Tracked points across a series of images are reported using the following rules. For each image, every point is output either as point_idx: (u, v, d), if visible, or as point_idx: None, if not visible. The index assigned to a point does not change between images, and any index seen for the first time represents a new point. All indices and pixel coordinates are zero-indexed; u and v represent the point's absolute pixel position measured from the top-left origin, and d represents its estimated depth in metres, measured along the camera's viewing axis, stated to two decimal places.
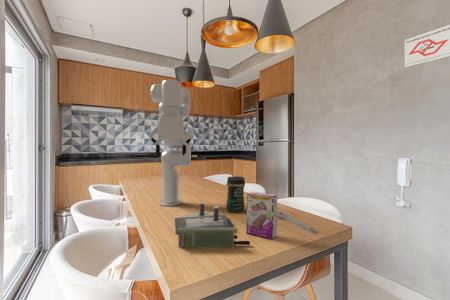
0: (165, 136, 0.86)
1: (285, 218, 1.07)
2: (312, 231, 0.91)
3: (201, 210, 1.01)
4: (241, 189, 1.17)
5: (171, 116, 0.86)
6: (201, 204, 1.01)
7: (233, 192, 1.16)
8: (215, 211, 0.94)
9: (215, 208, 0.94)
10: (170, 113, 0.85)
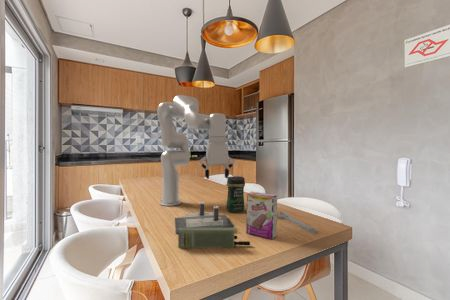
0: (213, 161, 1.00)
1: (286, 218, 1.07)
2: (313, 231, 0.91)
3: (201, 210, 1.01)
4: (241, 189, 1.17)
5: (218, 144, 1.00)
6: (201, 204, 1.01)
7: (233, 192, 1.16)
8: (215, 211, 0.94)
9: (215, 208, 0.94)
10: (218, 142, 0.99)
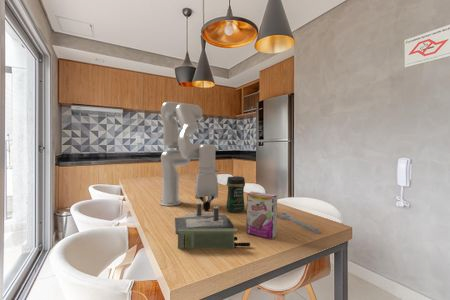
0: (202, 193, 1.00)
1: (288, 218, 1.06)
2: (316, 231, 0.91)
3: (198, 210, 1.01)
4: (241, 189, 1.17)
5: (207, 176, 1.00)
6: (198, 204, 1.01)
7: (233, 192, 1.16)
8: (215, 211, 0.94)
9: (215, 208, 0.94)
10: (207, 174, 0.99)
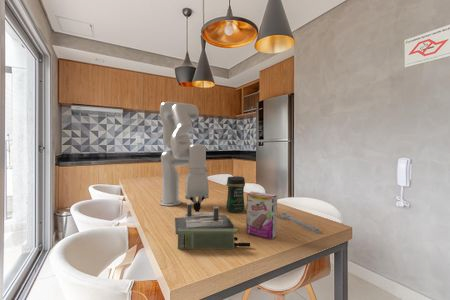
0: (192, 193, 0.99)
1: (288, 218, 1.06)
2: (317, 231, 0.91)
3: (188, 211, 1.00)
4: (241, 189, 1.17)
5: (198, 176, 0.99)
6: (188, 205, 1.00)
7: (233, 192, 1.16)
8: (215, 211, 0.94)
9: (215, 208, 0.94)
10: (197, 174, 0.98)
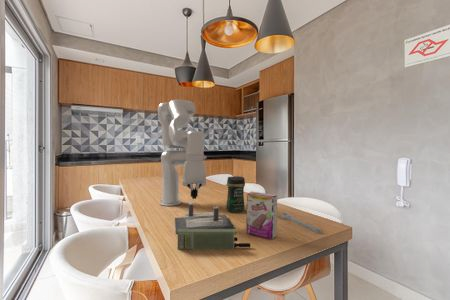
0: (190, 180, 0.99)
1: (289, 219, 1.06)
2: (318, 232, 0.91)
3: (190, 211, 1.00)
4: (241, 189, 1.17)
5: (195, 163, 0.99)
6: (190, 205, 1.00)
7: (233, 192, 1.16)
8: (215, 211, 0.94)
9: (215, 208, 0.94)
10: (195, 161, 0.97)
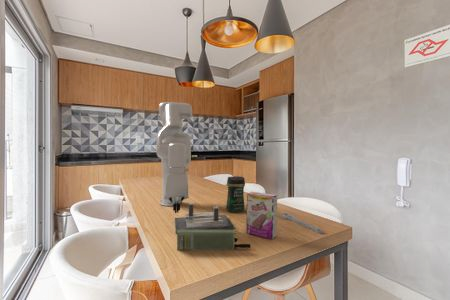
0: (171, 193, 0.96)
1: (290, 219, 1.06)
2: (320, 232, 0.90)
3: (190, 211, 1.00)
4: (241, 189, 1.17)
5: (176, 176, 0.96)
6: (190, 205, 1.00)
7: (233, 192, 1.16)
8: (215, 211, 0.94)
9: (215, 208, 0.94)
10: (176, 174, 0.95)
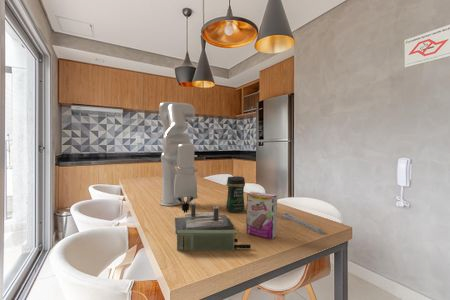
0: (180, 193, 0.97)
1: (291, 219, 1.06)
2: (320, 232, 0.90)
3: (192, 211, 1.00)
4: (241, 189, 1.17)
5: (186, 176, 0.97)
6: (192, 204, 1.00)
7: (233, 192, 1.16)
8: (215, 211, 0.94)
9: (215, 208, 0.94)
10: (185, 174, 0.96)
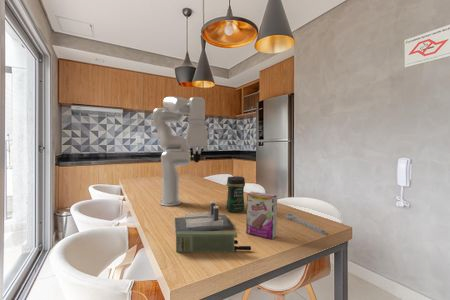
0: (192, 143, 1.03)
1: (294, 219, 1.05)
2: (323, 233, 0.89)
3: (212, 209, 1.02)
4: (241, 189, 1.17)
5: (197, 127, 1.04)
6: (212, 203, 1.02)
7: (233, 192, 1.16)
8: (215, 211, 0.94)
9: (215, 208, 0.94)
10: (197, 125, 1.02)
